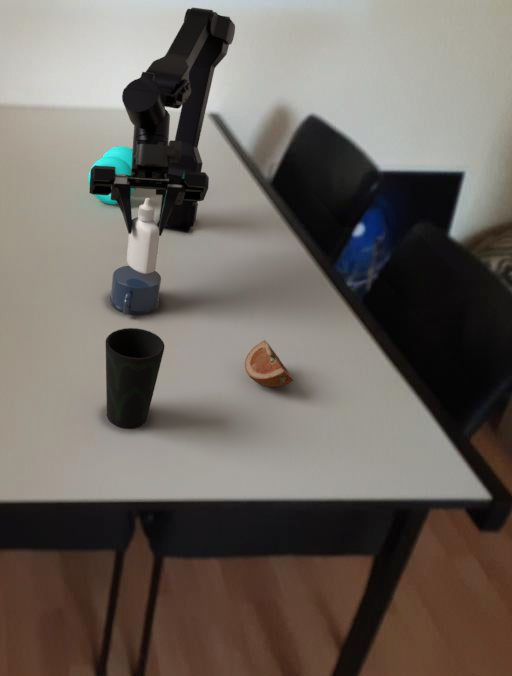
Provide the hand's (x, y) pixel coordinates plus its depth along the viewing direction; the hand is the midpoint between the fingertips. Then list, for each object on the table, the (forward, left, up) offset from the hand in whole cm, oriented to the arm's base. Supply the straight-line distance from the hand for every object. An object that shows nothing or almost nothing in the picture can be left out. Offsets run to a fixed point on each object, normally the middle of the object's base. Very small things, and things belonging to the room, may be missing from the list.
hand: (144, 234), depth 135 cm
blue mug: (-1, +1, -13) cm, 13 cm away
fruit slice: (+24, -14, -13) cm, 31 cm away
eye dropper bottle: (0, +1, -7) cm, 7 cm away
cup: (+7, -30, -13) cm, 34 cm away
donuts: (-16, +44, -13) cm, 49 cm away
